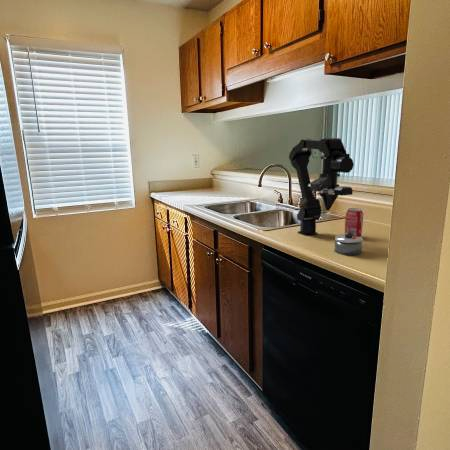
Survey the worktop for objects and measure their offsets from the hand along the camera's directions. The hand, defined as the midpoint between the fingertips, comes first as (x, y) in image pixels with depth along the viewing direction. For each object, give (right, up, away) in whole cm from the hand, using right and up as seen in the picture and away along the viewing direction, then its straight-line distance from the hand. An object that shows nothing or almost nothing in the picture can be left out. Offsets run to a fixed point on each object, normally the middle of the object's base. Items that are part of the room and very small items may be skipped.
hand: (327, 210), depth 135 cm
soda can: (+14, -11, +11) cm, 21 cm away
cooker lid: (+4, -11, -11) cm, 17 cm away
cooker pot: (+4, -16, -10) cm, 19 cm away
